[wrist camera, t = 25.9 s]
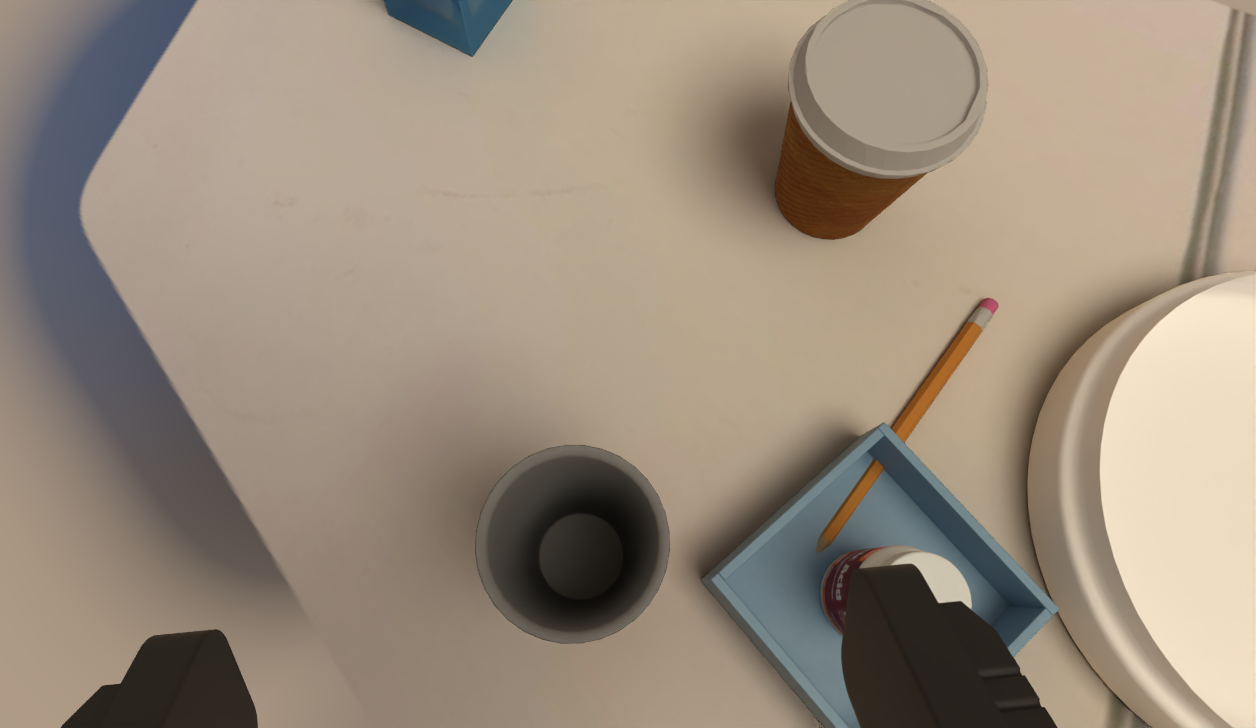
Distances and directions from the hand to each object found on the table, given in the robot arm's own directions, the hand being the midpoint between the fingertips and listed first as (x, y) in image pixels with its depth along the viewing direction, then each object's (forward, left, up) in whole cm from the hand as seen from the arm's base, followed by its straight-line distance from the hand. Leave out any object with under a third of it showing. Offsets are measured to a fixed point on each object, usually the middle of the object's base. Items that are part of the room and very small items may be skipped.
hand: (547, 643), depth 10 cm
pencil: (+19, -4, -33) cm, 39 cm away
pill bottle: (+11, -9, -32) cm, 35 cm away
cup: (+1, +2, -33) cm, 33 cm away
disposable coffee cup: (+26, +9, -33) cm, 43 cm away
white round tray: (+31, -21, -33) cm, 50 cm away
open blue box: (+11, -9, -33) cm, 36 cm away
